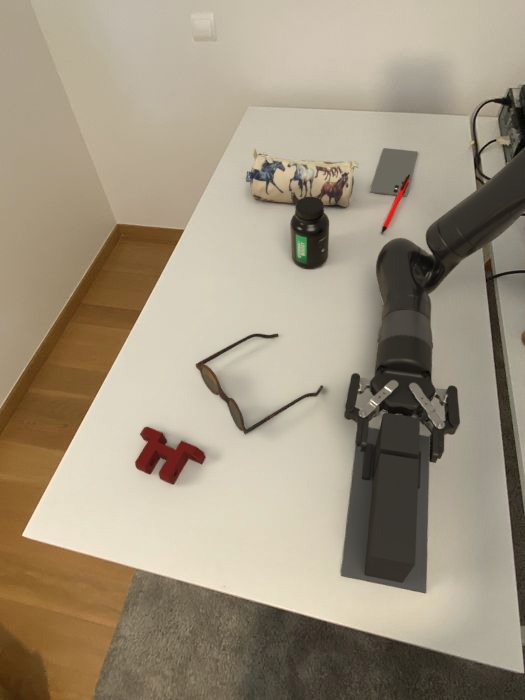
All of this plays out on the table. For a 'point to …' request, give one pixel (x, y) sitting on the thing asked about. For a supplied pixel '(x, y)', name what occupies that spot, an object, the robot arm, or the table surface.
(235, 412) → the eyeglasses
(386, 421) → the black rectangular box
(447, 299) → the table surface
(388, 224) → the pen
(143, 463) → the bracket
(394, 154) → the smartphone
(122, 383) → the table surface
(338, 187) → the pencil case
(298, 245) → the supplement bottle
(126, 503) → the table surface
